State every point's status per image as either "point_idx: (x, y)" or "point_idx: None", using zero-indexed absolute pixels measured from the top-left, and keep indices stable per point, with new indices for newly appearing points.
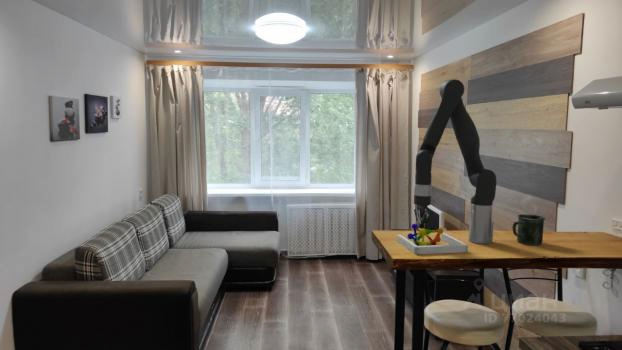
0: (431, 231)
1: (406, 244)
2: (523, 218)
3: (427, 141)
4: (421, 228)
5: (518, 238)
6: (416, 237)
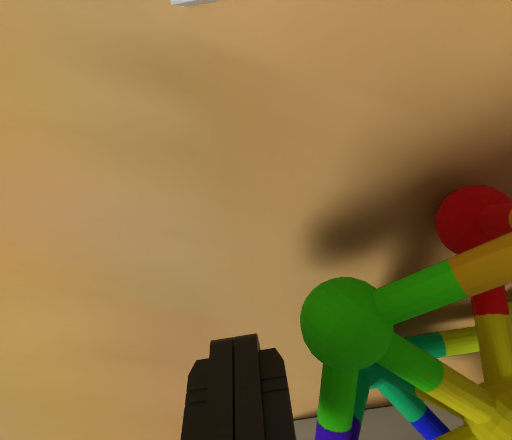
0: (440, 302)
1: None
2: None
3: None
4: (349, 429)
5: None
6: (370, 381)
